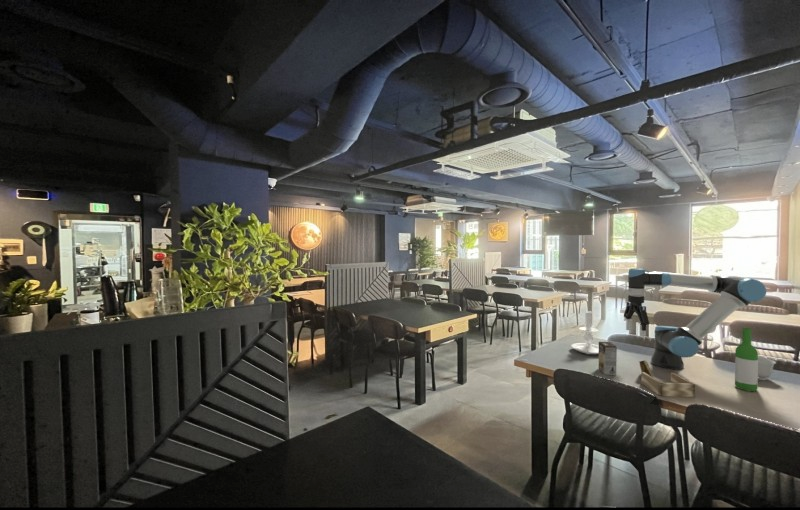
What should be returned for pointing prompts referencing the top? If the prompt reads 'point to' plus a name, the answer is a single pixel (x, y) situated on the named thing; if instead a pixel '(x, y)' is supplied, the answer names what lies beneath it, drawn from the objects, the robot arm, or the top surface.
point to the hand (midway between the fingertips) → (635, 332)
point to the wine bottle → (746, 364)
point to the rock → (645, 367)
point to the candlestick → (587, 338)
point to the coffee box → (607, 358)
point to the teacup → (765, 367)
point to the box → (669, 386)
